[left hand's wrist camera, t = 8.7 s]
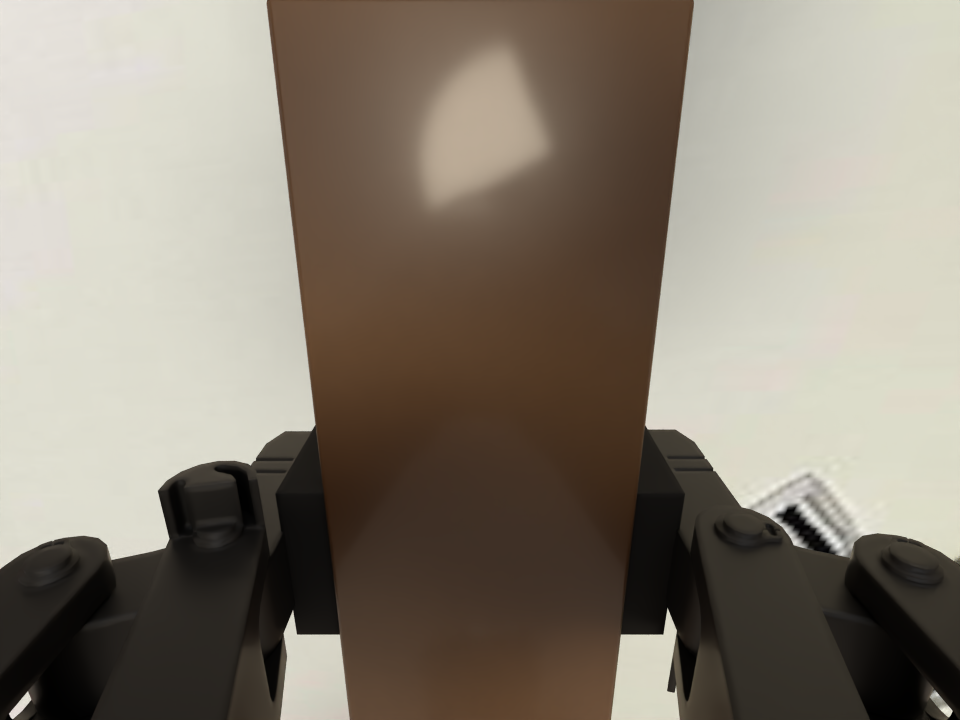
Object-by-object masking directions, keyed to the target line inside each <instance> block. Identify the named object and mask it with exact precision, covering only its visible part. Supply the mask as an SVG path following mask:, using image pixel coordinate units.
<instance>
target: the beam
mask: <svg viewBox="0 0 960 720" xmlns="http://www.w3.org/2000/svg"><path fill="white" fill-rule="evenodd" d="M693 8H694V1H693V0H267V11H268V20H269V28H270V37H271V46H272V54H273V63H274V71H275V80H276V89H277V97H278V106H279V114H280V123H281V132H282V140H283V149H284V157H285V166H286V175H287V183H288V192H289V200H290V209H291V218H292V226H293V235H294V243H295V252H296V261H297V269H298V278H299V286H300V295H301V304H302V312H303V321H304V329H305V338H306V347H307V355H308V364H309V372H310V381H311V390H312V398H313V407H314V415H315V424H316V433H317V441H318V450H319V458H320V467H321V476H322V484H323V493H324V501H325V510H326V519H327V527H328V536H329V544H330V553H331V562H332V570H333V579H334V587H335V596H336V605H337V613H338V622H339V630H340V639H341V648H342V656H343V665H344V673H345V682H346V691H347V699H348V708H349V716H350V720H611V714H612V706H613V697H614V688H615V680H616V671H617V662H618V654H619V645H620V637H621V628H622V619H623V611H624V602H625V594H626V585H627V576H628V568H629V559H630V551H631V542H632V533H633V525H634V516H635V507H636V499H637V490H638V482H639V473H640V464H641V456H642V447H643V439H644V430H645V421H646V413H647V404H648V396H649V387H650V378H651V370H652V361H653V352H654V344H655V335H656V327H657V318H658V309H659V301H660V292H661V284H662V275H663V266H664V258H665V249H666V241H667V232H668V223H669V215H670V206H671V198H672V189H673V180H674V172H675V163H676V154H677V146H678V137H679V129H680V120H681V111H682V103H683V94H684V86H685V77H686V68H687V60H688V51H689V43H690V34H691V25H692V17H693Z"/></svg>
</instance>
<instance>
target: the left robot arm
mask: <svg viewBox="0 0 960 720" xmlns="http://www.w3.org/2000/svg"><path fill="white" fill-rule="evenodd" d="M158 493H159V497H160V502H161V506H162V510H163V514H164V518H165V522H166V526H167V530H168V534H169V538H170V539H169V542H168V544H167V546H166V548H164V549H161V550H157V551H153V552H149V553H144V554H139V555H134V556H129V557H125V558H120V559H115V560H111V558H110V554H109V551H108V547H107V545H106V544H105V543H104V542H103V541H101V540H100V539H99V538H94V537H88V536H77V537H68V538H62V539H57V540H54V541H50V542H47V543H44V544H41V545H39V546H38V547H36V548H34V549H32V550H29V551H27V552H25V553H23V554H21V555H20V556H18V557H17V558H15V559H14V560H12V561H11V562H9V563H8V564H7V565H5V566H4V567H2V568H1V569H0V720H280V717H281V707H282V698H283V689H284V679H285V670H286V661H287V653H286V646H285V640H284V634H283V633H284V631H285V628H286V626H287V623H288V621H289V618H290V616H291V613H292V611H294V618H295V624H296V631H297V634H340V630H339V622H338V613H337V605H336V596H335V587H334V579H333V570H332V562H331V553H330V544H329V536H328V527H327V519H326V510H325V501H324V493H323V484H322V476H321V467H320V458H319V450H318V441H317V433H316V425H315V427H314V428H313V430H312V431H285V432H284V433H282V434H281V435H279V436H277V437H276V438H274V439H273V440H271V441H270V442H268V443H267V444H266V445H265V446H264V448H263V449H262V451H261V452H260V453H259V455H258V456H257V458H256V461H254V462H253V463H252V465H251V466H250V465H249V464H246V463H242V462H237V461H216V462H211V463H206V464H201V465H198V466H195V467H192V468H190V469H187V470H184V471H182V472H180V473H178V474H177V475H175V476H174V477H172V478H170V479H169V480H167V481H166V482H165V483H164V485H163V486H162V487H161V488H160V489H159V490H158ZM667 607H668V610H669V612H670V615H671V617H672V620H673V622H674V624H675V627H676V629H677V634H676V640H675V646H674V652H673V658H672V664H671V670H670V676H669V683H668V689H667V691H669V692H674V693H675V687H677V697H678V706H679V715H680V720H960V565H958V564H957V563H956V562H954V561H953V560H951V559H950V558H948V557H947V556H945V555H944V554H943V553H941V552H939V551H937V550H935V549H933V548H931V547H929V546H927V545H924V544H923V543H921V542H919V541H916V540H913V539H907V538H906V537H902V536H897V535H887V534H878V533H877V534H871V535H865V536H862V537H861V538H859V539H858V540H857V541H856V542H854V546H853V549H852V552H851V556H850V558H848V557H843V556H838V555H833V554H828V553H823V552H818V551H813V550H809V549H805V548H801V547H798V546H794V545H793V543H792V541H791V538H790V537H789V536H788V534H787V533H786V532H785V530H784V529H783V528H782V527H781V526H780V525H778V524H777V523H776V522H774V521H773V520H772V519H770V518H769V517H767V516H765V515H762V514H760V513H758V512H755V511H753V510H750V509H746V508H742V507H741V506H740V505H739V503H738V502H737V501H736V499H735V498H734V496H733V495H732V494H731V492H730V491H729V490H728V488H727V487H726V485H725V484H724V483H723V481H722V480H721V478H720V477H719V476H718V474H717V473H716V471H713V467H712V466H711V465H710V463H709V462H708V460H707V459H705V456H704V455H703V453H702V452H701V451H700V449H699V448H698V447H697V445H696V444H695V442H693V441H692V440H690V439H689V438H687V437H686V436H684V435H683V434H681V433H680V432H678V431H677V430H648V429H647V428H646V426H645V430H644V439H643V447H642V456H641V464H640V473H639V482H638V490H637V499H636V507H635V516H634V525H633V533H632V542H631V551H630V559H629V568H628V576H627V585H626V594H625V602H624V611H623V619H622V628H621V634H663V633H664V627H665V620H666V614H667ZM933 688H934V689H935V690H936V692H937V693H938V694H939V695H940V696H941V697H942V699H943V700H944V701H945V702H946V703H947V705H948V706H949V707H950V708H951V709H952V710H953V712H952V714H951V716H950V717H947V716H946V715H945V714H944V713H943V712H942V711H941V710H940V709H939V708H938V707H937V706H936V705H935V703H934V702H933V701H932V700H931V699H930V696H931V693H932V691H933ZM27 691H28V692H29V694H30V697H31V699H32V700H31V701H30V702H29V704H28V705H27V706H26V707H25V708H24V710H23V711H22V712H21V713H20V714H18V715H17V716H16V717H15V718H14V719H12V718H10V715H9V713H10V712H11V710H12V709H13V708H14V707H15V706H16V705H17V703H18V702H19V701H20V700H21V699H22V697H23V696H24V695H25V694H26V693H27Z"/></svg>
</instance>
